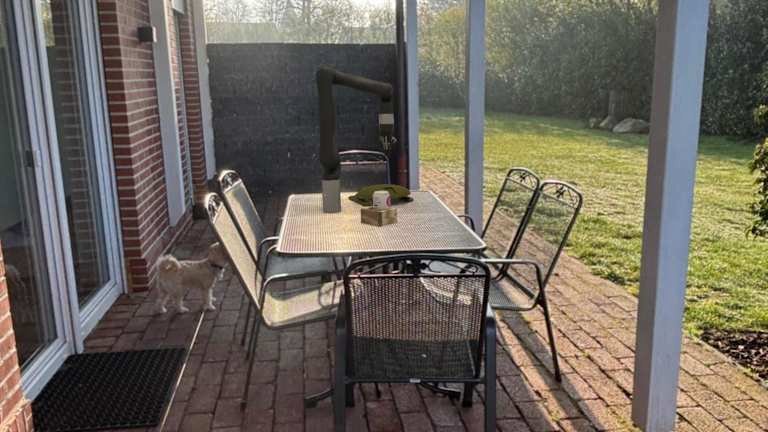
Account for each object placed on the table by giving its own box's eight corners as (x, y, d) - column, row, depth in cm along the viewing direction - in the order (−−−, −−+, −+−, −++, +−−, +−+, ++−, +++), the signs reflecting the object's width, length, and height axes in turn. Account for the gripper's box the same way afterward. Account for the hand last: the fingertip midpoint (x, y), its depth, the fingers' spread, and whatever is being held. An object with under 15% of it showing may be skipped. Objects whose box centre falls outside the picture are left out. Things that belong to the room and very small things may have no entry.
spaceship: (347, 199, 385) (346, 183, 383) (395, 194, 396) (394, 178, 394) (368, 209, 353) (367, 191, 351) (419, 203, 364) (419, 186, 362)
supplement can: (392, 220, 320) (391, 190, 317) (388, 224, 313) (387, 193, 310) (376, 220, 323) (375, 190, 320) (371, 224, 315) (370, 193, 312)
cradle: (378, 219, 325) (377, 205, 324) (397, 222, 316) (396, 208, 315) (361, 223, 318) (360, 208, 316) (380, 226, 308) (379, 212, 307)
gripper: (372, 122, 336) (373, 156, 340) (390, 123, 327) (391, 158, 330) (382, 122, 341) (383, 155, 345) (400, 122, 332) (401, 156, 335)
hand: (387, 156), depth 337 cm, fingers closed
